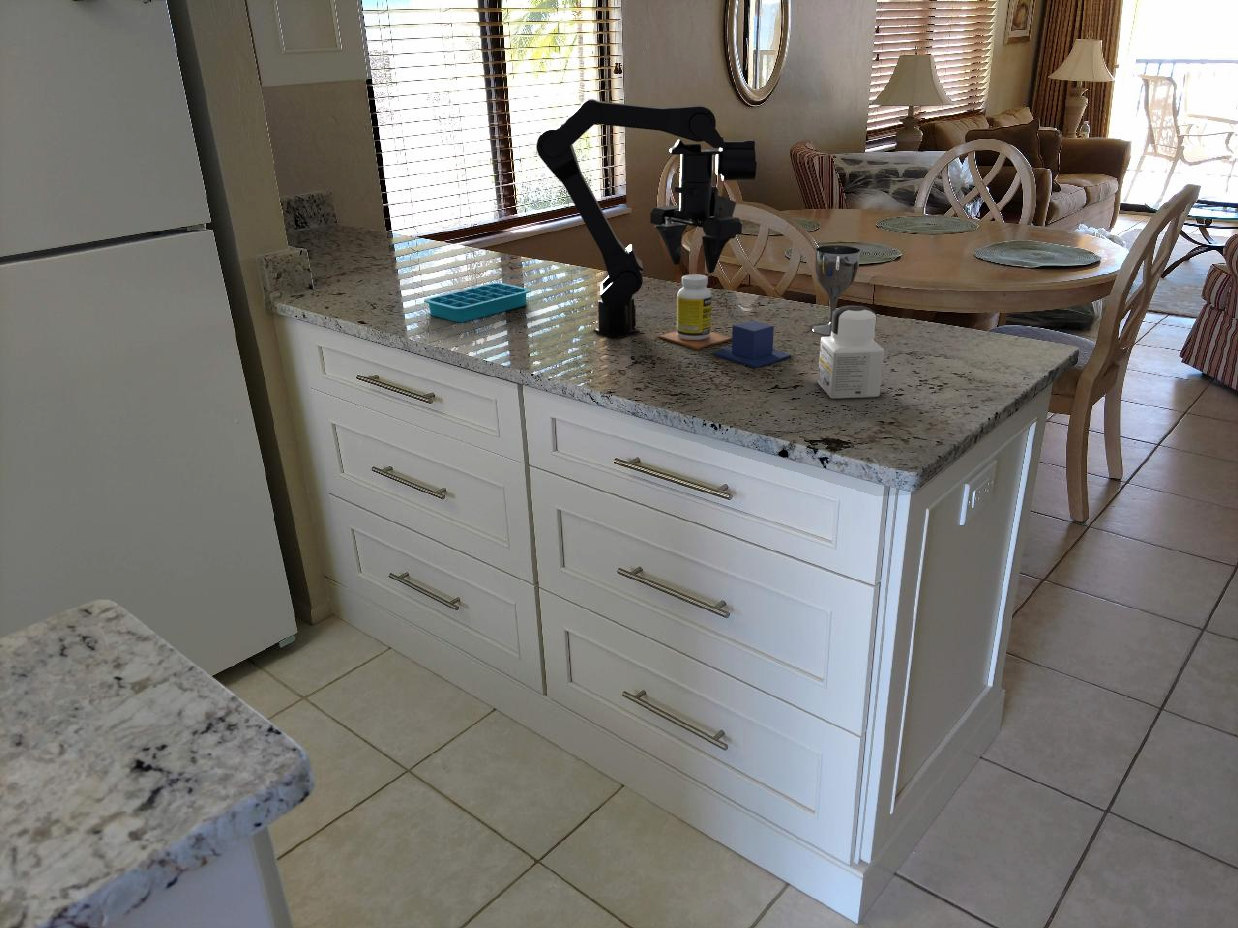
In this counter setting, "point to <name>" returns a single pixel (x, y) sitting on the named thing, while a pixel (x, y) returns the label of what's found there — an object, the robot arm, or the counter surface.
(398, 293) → the counter surface
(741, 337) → the navy block
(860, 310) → the container
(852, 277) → the wine glass
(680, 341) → the amber mat
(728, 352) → the navy mat
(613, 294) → the robot arm
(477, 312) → the ice cube tray
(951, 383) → the counter surface
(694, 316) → the pill bottle
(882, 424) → the counter surface
